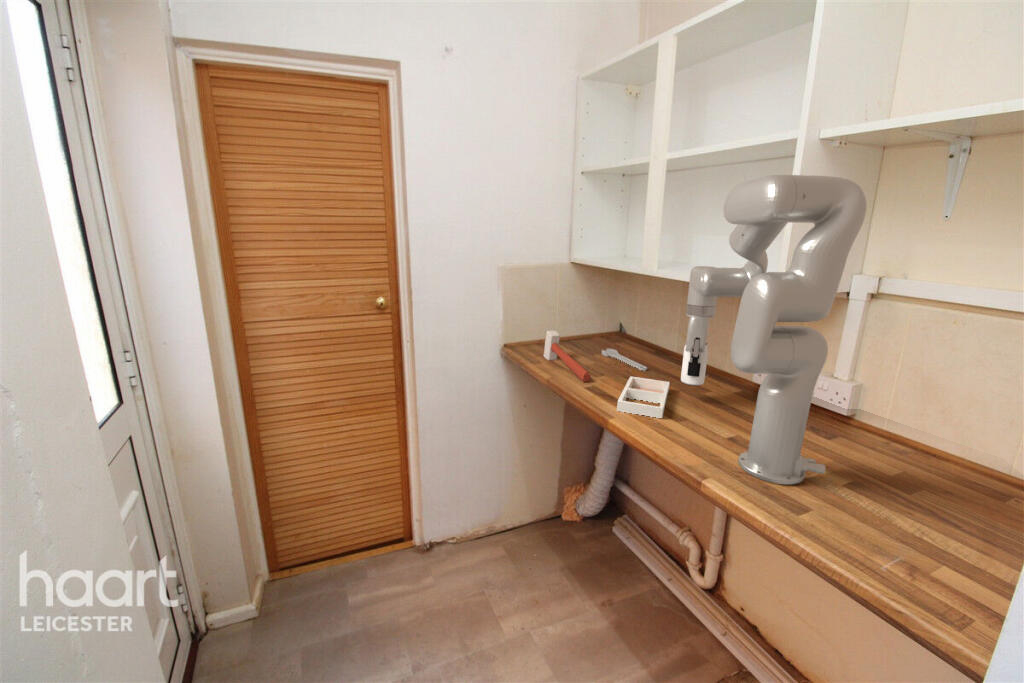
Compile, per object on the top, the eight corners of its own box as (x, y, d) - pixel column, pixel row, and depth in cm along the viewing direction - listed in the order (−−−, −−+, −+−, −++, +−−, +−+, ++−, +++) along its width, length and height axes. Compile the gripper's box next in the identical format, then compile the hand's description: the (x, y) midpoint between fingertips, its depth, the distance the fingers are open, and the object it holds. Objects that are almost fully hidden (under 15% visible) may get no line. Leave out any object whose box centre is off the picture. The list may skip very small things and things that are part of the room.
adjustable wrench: (648, 372, 164) (649, 367, 164) (632, 373, 163) (633, 369, 162) (612, 352, 187) (612, 347, 187) (598, 353, 185) (598, 348, 185)
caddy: (668, 391, 145) (669, 382, 144) (661, 419, 124) (663, 408, 124) (629, 385, 149) (630, 376, 149) (616, 411, 129) (617, 401, 128)
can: (676, 378, 139) (681, 339, 137) (697, 378, 140) (702, 340, 137) (686, 386, 133) (691, 345, 130) (708, 385, 134) (713, 345, 131)
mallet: (593, 364, 149) (554, 329, 174) (584, 365, 148) (546, 330, 173) (589, 393, 153) (551, 355, 179) (579, 395, 152) (543, 355, 178)
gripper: (687, 306, 139) (681, 365, 143) (685, 314, 124) (677, 380, 128) (714, 308, 136) (707, 368, 141) (715, 316, 121) (707, 383, 126)
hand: (693, 373), depth 134 cm, fingers closed on can, 3 cm apart
